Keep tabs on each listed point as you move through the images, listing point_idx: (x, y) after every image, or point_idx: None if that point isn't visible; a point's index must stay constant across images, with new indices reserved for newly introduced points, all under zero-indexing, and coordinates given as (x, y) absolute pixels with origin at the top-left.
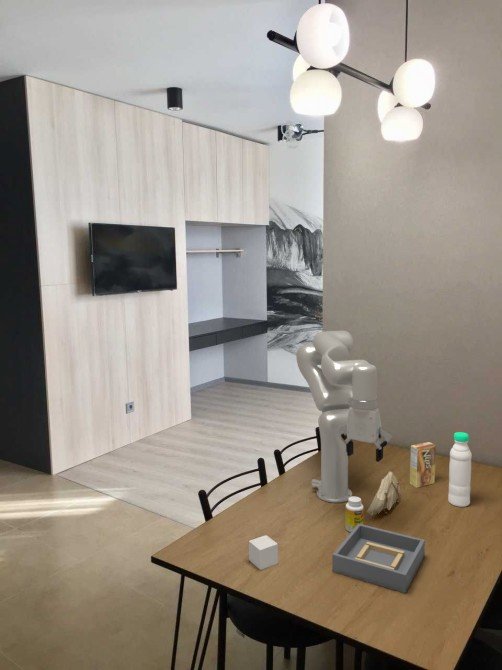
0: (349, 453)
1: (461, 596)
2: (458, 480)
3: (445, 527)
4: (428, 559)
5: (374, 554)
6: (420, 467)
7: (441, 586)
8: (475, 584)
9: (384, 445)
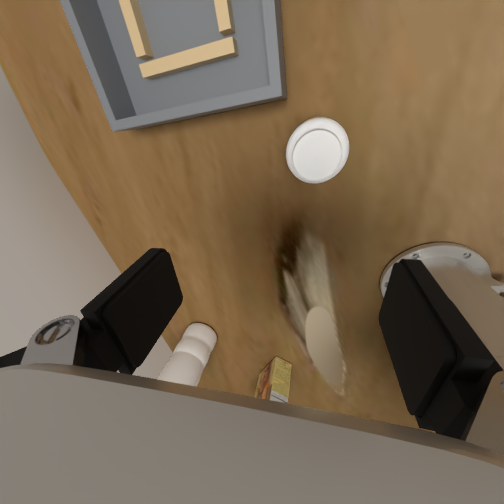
0: (401, 275)
1: (7, 14)
2: (175, 361)
3: (176, 255)
4: None
5: (202, 23)
6: (266, 394)
7: (47, 22)
8: (30, 88)
9: (4, 359)
